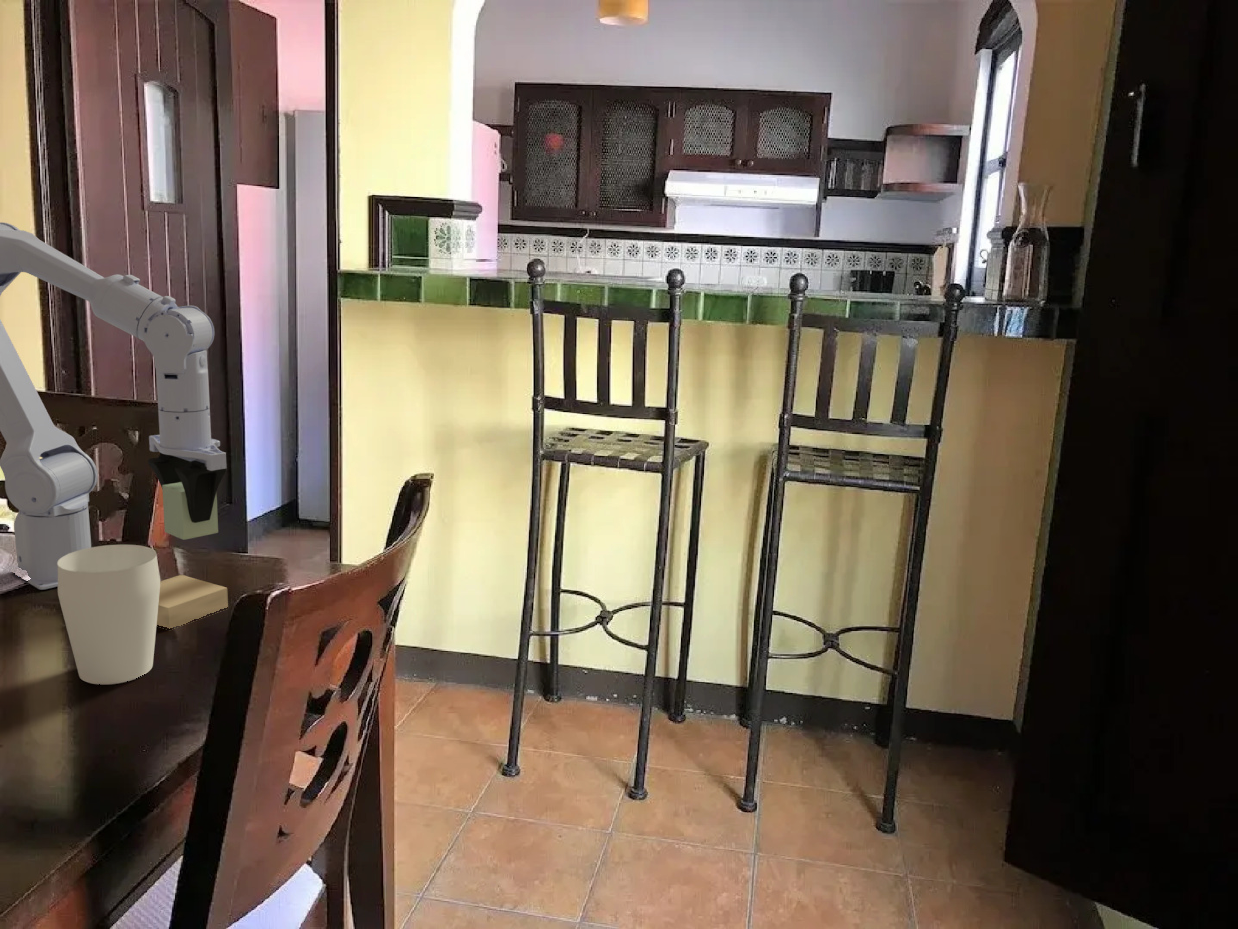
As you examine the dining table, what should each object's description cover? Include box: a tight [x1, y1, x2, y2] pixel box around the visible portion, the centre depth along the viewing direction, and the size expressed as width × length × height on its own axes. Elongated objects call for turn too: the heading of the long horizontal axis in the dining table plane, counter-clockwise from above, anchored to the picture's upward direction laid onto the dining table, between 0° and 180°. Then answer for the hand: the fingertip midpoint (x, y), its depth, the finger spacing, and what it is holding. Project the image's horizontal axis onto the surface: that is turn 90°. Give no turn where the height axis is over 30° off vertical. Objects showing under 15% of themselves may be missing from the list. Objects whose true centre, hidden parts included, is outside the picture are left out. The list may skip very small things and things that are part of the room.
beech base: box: [157, 574, 229, 629], centre depth 115 cm, size 8×8×3 cm
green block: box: [161, 482, 219, 541], centre depth 122 cm, size 4×4×6 cm
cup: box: [57, 544, 161, 686], centre depth 98 cm, size 9×9×12 cm
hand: (190, 516), depth 122 cm, fingers closed on green block, 4 cm apart
